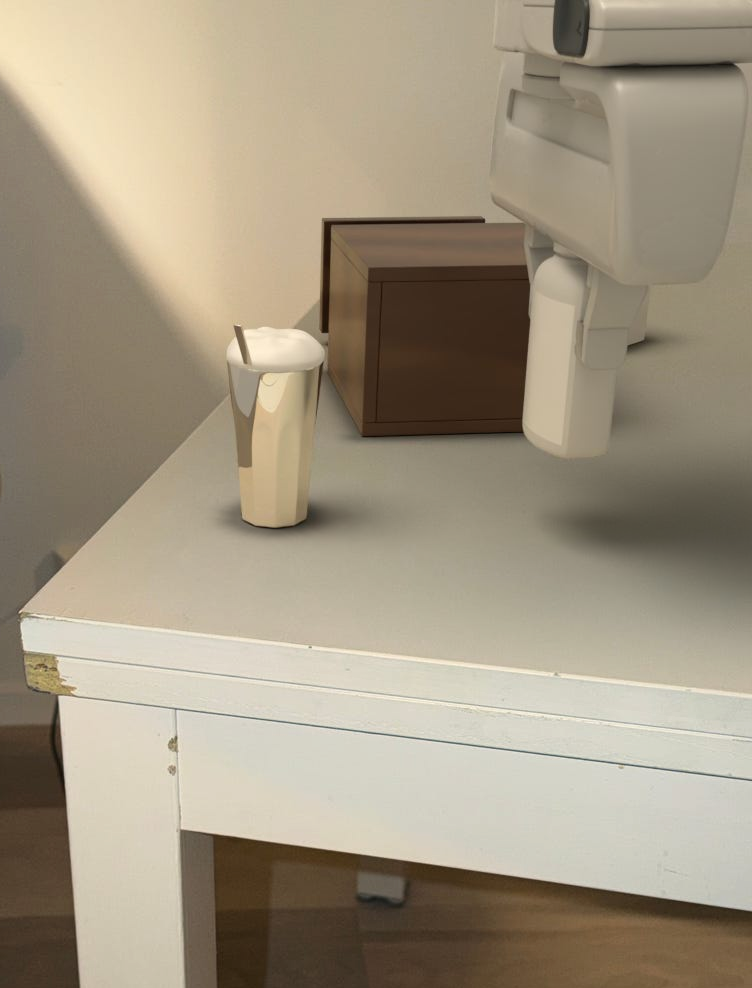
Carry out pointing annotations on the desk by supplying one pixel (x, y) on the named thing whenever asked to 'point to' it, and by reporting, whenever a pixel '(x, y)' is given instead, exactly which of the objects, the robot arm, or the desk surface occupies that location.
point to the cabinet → (430, 326)
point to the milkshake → (274, 420)
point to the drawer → (365, 221)
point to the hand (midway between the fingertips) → (573, 344)
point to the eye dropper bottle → (564, 366)
